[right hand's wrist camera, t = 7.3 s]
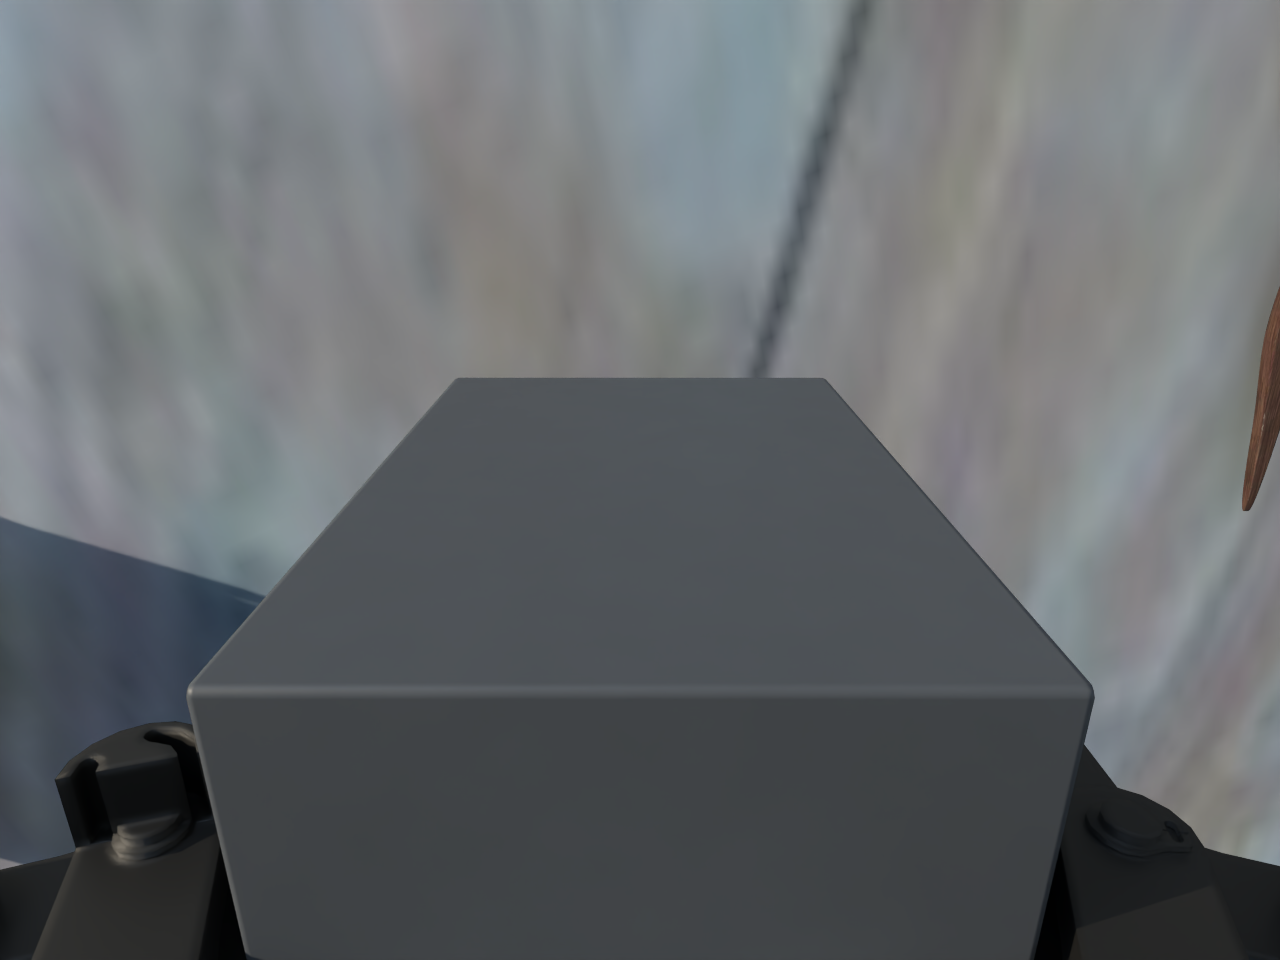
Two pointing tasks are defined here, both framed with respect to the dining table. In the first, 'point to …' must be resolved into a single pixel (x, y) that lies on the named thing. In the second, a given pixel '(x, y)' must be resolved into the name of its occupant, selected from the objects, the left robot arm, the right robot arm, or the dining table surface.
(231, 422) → the dining table surface
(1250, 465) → the fork
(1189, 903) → the right robot arm
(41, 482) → the dining table surface
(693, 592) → the box
